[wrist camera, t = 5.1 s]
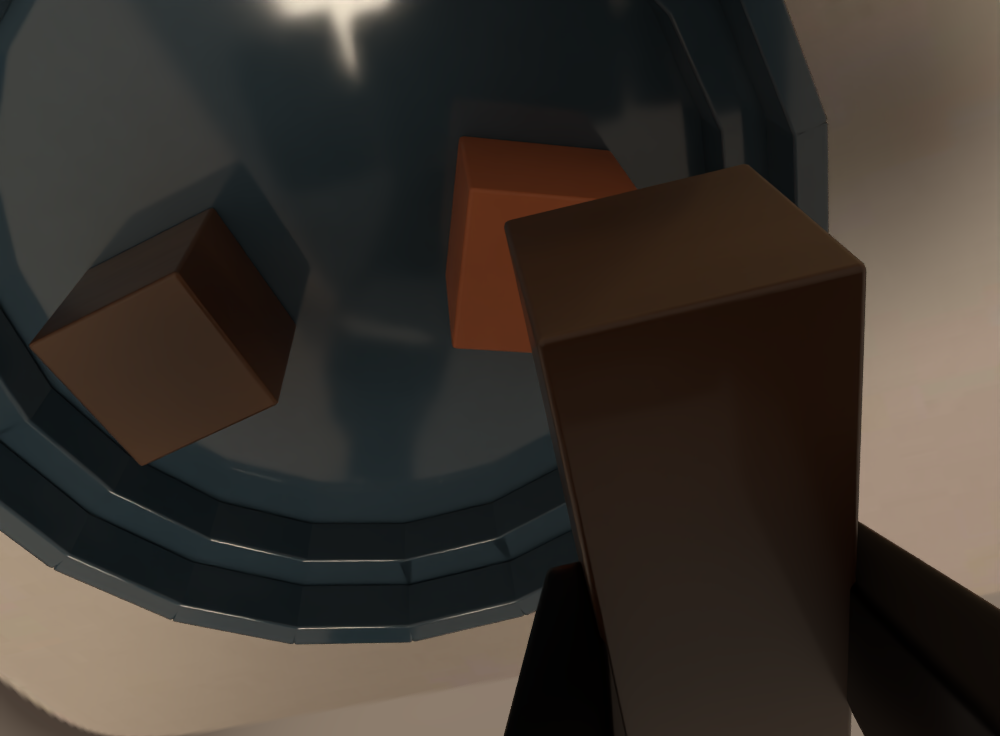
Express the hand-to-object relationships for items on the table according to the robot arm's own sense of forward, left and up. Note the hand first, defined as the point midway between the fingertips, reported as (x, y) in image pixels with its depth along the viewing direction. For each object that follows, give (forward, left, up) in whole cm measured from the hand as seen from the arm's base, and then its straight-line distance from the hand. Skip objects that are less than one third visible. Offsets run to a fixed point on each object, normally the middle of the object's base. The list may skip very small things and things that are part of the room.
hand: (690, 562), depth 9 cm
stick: (0, 0, -1) cm, 1 cm away
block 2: (+1, +1, -9) cm, 9 cm away
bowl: (+1, +4, -10) cm, 11 cm away
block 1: (+1, +8, -9) cm, 12 cm away
